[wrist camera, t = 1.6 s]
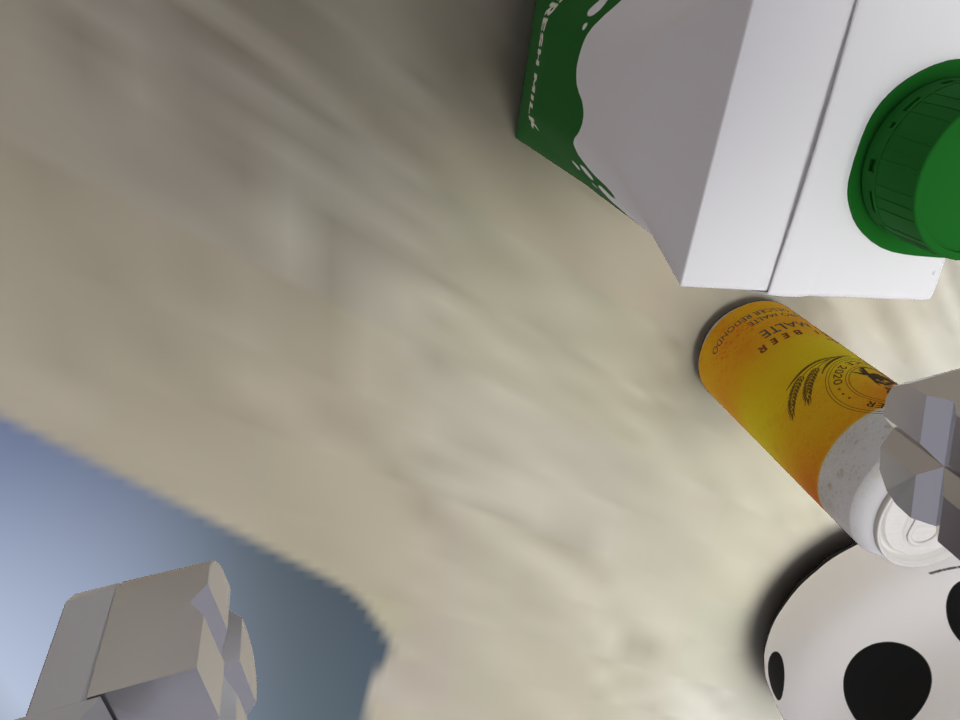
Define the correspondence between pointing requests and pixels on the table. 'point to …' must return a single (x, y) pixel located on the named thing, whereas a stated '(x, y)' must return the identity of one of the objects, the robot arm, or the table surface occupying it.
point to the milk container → (868, 641)
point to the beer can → (815, 421)
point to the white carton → (762, 134)
